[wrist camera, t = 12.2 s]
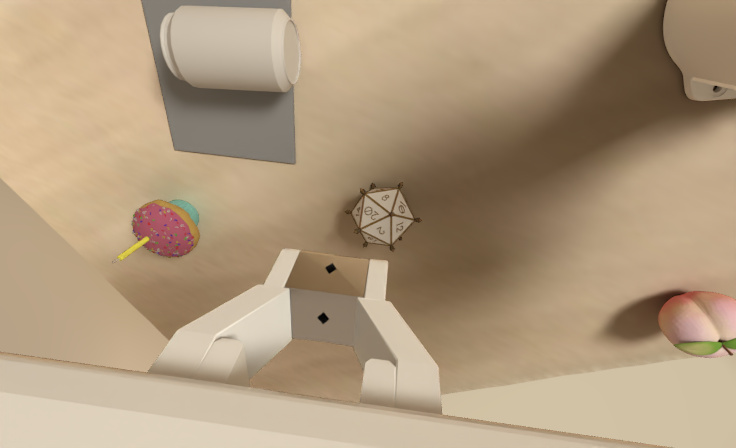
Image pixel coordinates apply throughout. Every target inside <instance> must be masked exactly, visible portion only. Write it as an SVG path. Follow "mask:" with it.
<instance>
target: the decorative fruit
mask: <svg viewBox="0 0 736 448" xmlns="http://www.w3.org/2000/svg"><path fill="white" fill-rule="evenodd" d="M658 323H659V326H660V328H661V330H662V332H663V333H664V335H665V336H666V337H667V338H668V340H669V341H670V342H671V343H672V344H673V345H674V346H675V347H677V348H678V349H679V350H681V351H683V352H685V353H687V354H690V355H693V356H698V357H705V358H715V357H722V356H727V355H733V353H734V352H736V300H735V299H733V298H731V297H729V296H726V295H723V294H719V293H713V292H704V291H693V292H687V293H685V294H682V295H679V296H674V297H672V298H671V299H669V300H668V301H667V302H666V303H665V304H664V305H663V307H662V308H661V310H660V312H659V315H658Z"/></svg>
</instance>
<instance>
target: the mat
mask: <svg viewBox="0 0 736 448" xmlns="http://www.w3.org/2000/svg"><path fill="white" fill-rule="evenodd" d="M142 4H143V9H144V13H145V18H146V22H147V27H148V31H149V36H150V40H151V45H152V50H153V54H154V59H155V63H156V68H157V72H158V77H159V81H160V86H161V90H162V95H163V99H164V104H165V108H166V113H167V117H168V122H169V126H170V131H171V135H172V140H173V144H174V149H175V150H181V151H190V152H198V153H207V154H215V155H224V156H232V157H241V158H249V159H258V160H266V161H275V162H283V163H291V164H295V163H296V160H295V126H294V92H293V86H292V87H291V89H290V90H289V91H287V92H269V91H249V90H230V89H210V88H197V87H193V86H192V85H190V84H189V83H188V82H187V81H184V80H180V79H178V78H177V77H176V76H175V75H174V74H173V73H172V72H171V70H170V69H169V68H168V66H167V64H166V61H165V59H164V57H163V53H162V49H161V45H160V28H161V23H162V21H163V19H164V17H165V16H166V15H167V14H168V13H173V12H175V11H176V10H177V9H178V8H179V7H180V6H216V7H245V8H274V9H283V10H284V11H285V12H286V13H287V15H288V16H289V17H290V18H291V0H142Z"/></svg>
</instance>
